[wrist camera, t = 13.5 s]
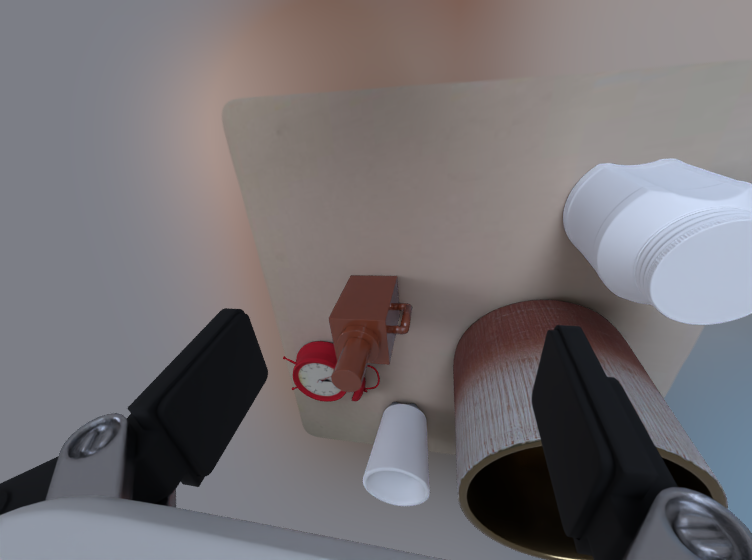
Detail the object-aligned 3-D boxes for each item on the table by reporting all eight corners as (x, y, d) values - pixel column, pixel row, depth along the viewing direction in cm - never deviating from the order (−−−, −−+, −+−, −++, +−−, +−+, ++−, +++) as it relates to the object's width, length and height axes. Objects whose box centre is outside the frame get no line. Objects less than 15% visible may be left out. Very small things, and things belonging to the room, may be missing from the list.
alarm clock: (276, 352, 51) (362, 376, 45) (299, 328, 56) (380, 347, 50) (290, 398, 56) (369, 425, 51) (310, 372, 61) (384, 394, 55)
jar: (704, 155, 31) (877, 203, 19) (671, 247, 36) (792, 335, 23) (570, 165, 34) (643, 213, 21) (556, 249, 39) (609, 330, 26)
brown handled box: (350, 275, 46) (309, 355, 32) (413, 275, 44) (397, 361, 30) (356, 313, 49) (321, 400, 36) (414, 315, 47) (401, 408, 34)
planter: (647, 298, 39) (796, 459, 22) (596, 418, 50) (670, 586, 34) (458, 289, 44) (463, 418, 27) (449, 401, 55) (449, 543, 38)
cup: (375, 392, 57) (358, 464, 46) (432, 397, 55) (428, 473, 44) (380, 429, 62) (366, 501, 51) (433, 434, 60) (430, 511, 49)
